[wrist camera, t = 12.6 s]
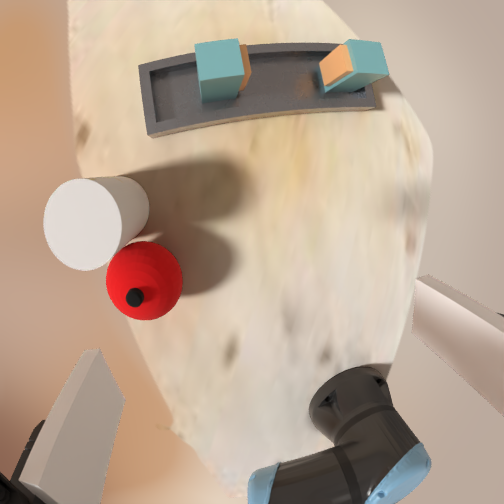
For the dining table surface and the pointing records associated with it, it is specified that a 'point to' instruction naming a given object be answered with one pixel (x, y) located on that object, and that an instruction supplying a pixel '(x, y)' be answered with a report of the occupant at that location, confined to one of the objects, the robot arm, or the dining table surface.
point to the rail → (254, 95)
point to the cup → (94, 219)
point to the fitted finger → (353, 66)
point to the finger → (222, 69)
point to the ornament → (144, 280)
